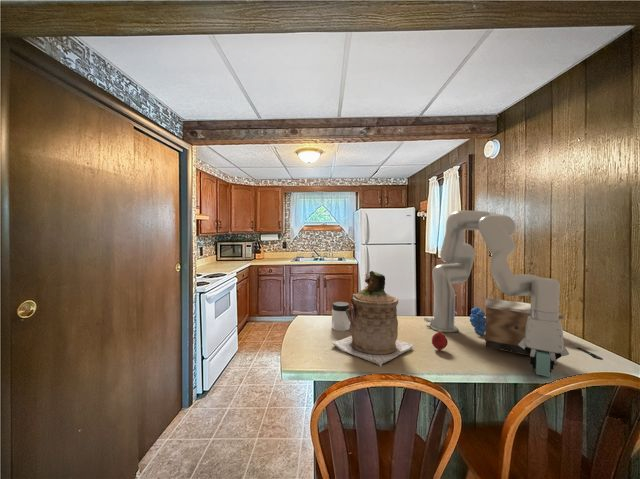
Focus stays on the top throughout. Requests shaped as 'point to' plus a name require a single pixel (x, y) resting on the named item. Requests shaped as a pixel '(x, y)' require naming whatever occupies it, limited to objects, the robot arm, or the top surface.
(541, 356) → the sage green block
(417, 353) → the top surface
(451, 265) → the robot arm
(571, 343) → the cleaver
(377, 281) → the cookie jar
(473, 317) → the grapes
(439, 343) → the onion
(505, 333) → the cabinet
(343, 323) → the jar
